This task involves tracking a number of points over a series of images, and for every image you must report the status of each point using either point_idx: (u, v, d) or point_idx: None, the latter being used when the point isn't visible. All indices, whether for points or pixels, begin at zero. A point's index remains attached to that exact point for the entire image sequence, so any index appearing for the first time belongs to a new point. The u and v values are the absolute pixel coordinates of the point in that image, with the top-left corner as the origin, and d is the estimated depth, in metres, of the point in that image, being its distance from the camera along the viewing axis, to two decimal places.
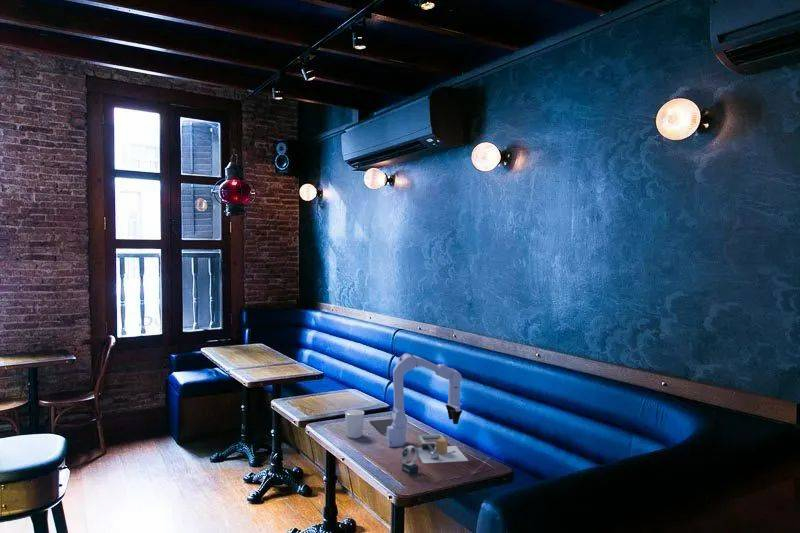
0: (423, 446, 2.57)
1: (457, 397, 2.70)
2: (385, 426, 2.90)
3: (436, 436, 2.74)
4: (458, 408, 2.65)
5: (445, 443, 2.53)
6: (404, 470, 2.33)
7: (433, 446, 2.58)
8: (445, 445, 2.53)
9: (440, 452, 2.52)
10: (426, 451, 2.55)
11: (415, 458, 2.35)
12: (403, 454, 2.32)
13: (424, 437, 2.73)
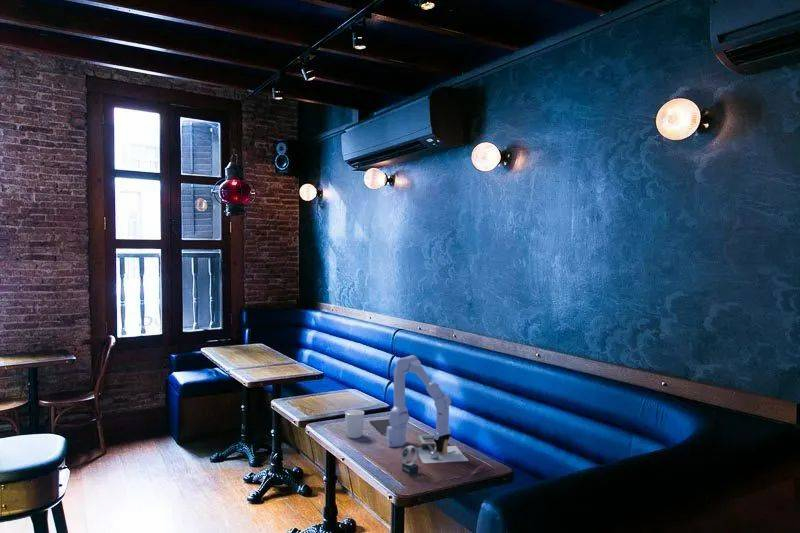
0: (423, 446, 2.57)
1: (442, 425, 2.51)
2: (385, 426, 2.90)
3: None
4: (436, 436, 2.48)
5: (445, 443, 2.53)
6: (404, 470, 2.33)
7: (433, 446, 2.58)
8: (445, 445, 2.53)
9: (440, 452, 2.52)
10: (426, 451, 2.55)
11: (415, 458, 2.35)
12: (403, 454, 2.32)
13: (424, 437, 2.73)
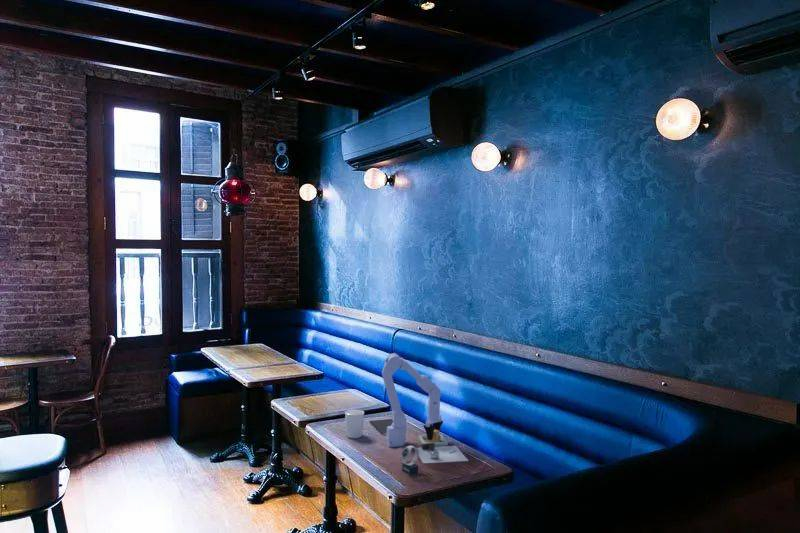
0: (423, 446, 2.57)
1: (433, 413, 2.66)
2: (385, 426, 2.90)
3: None
4: (427, 423, 2.62)
5: (436, 434, 2.67)
6: (404, 470, 2.33)
7: (433, 446, 2.58)
8: (437, 435, 2.68)
9: None
10: (426, 451, 2.55)
11: (415, 458, 2.35)
12: (403, 454, 2.32)
13: (424, 437, 2.73)
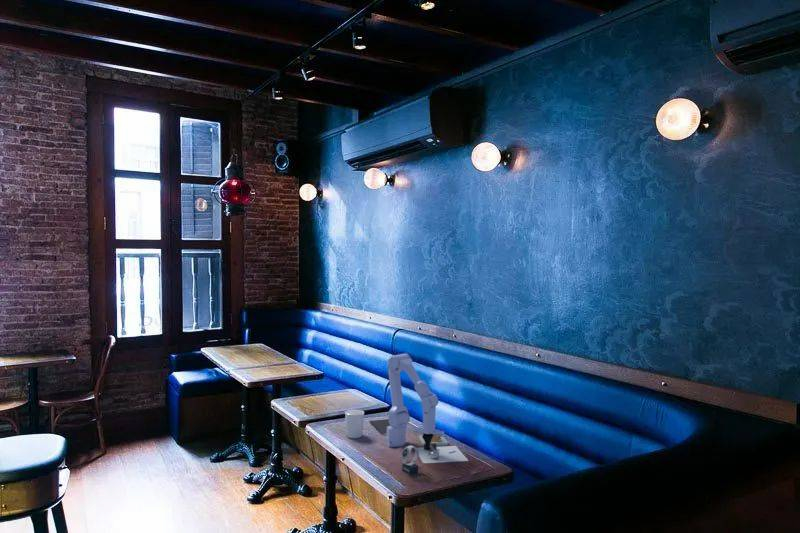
0: (424, 446, 2.57)
1: None
2: (385, 426, 2.91)
3: None
4: None
5: None
6: (404, 470, 2.33)
7: (435, 446, 2.58)
8: None
9: None
10: (426, 451, 2.55)
11: (415, 458, 2.35)
12: (403, 454, 2.32)
13: None
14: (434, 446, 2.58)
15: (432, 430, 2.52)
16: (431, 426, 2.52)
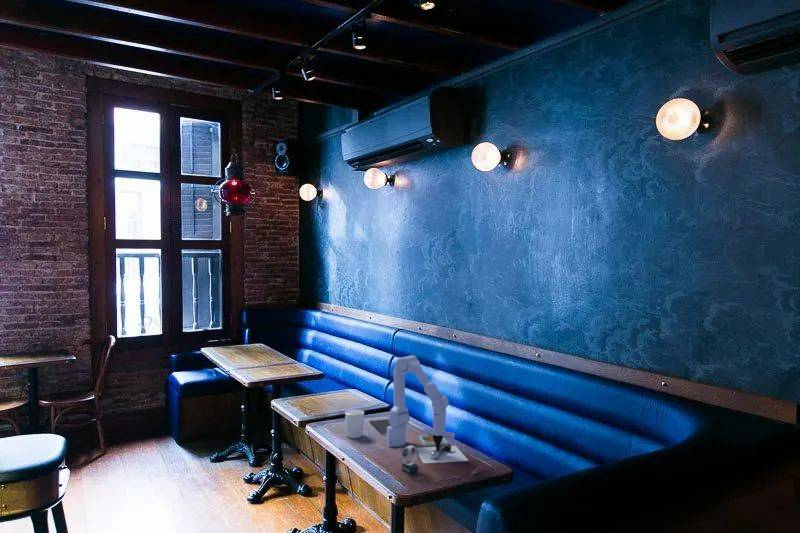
0: (439, 446, 2.58)
1: (433, 423, 2.53)
2: (385, 426, 2.91)
3: None
4: None
5: None
6: (404, 470, 2.33)
7: (448, 448, 2.55)
8: None
9: None
10: (426, 451, 2.55)
11: (415, 458, 2.35)
12: (403, 454, 2.32)
13: (424, 437, 2.73)
14: (448, 448, 2.56)
15: (442, 432, 2.51)
16: (441, 428, 2.50)
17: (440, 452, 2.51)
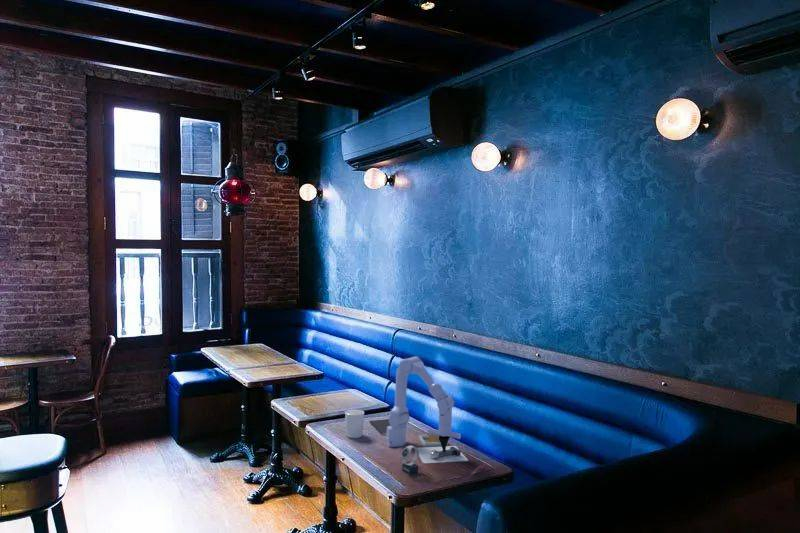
0: (450, 449, 2.55)
1: (439, 424, 2.52)
2: (385, 426, 2.91)
3: None
4: None
5: None
6: (404, 470, 2.33)
7: (456, 453, 2.50)
8: (437, 435, 2.68)
9: None
10: (426, 451, 2.55)
11: (415, 458, 2.35)
12: (403, 454, 2.32)
13: (424, 437, 2.73)
14: (456, 452, 2.51)
15: (448, 432, 2.50)
16: (447, 428, 2.49)
17: (444, 454, 2.49)
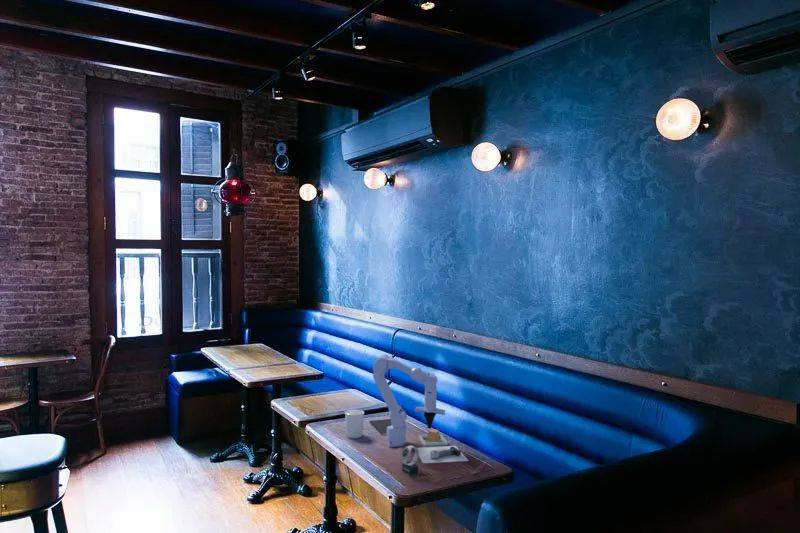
0: (450, 449, 2.55)
1: None
2: (385, 426, 2.91)
3: None
4: None
5: (436, 434, 2.67)
6: (404, 470, 2.33)
7: (456, 453, 2.50)
8: (437, 435, 2.68)
9: None
10: (426, 451, 2.55)
11: (415, 458, 2.35)
12: (403, 454, 2.32)
13: (424, 437, 2.73)
14: (456, 452, 2.51)
15: (433, 409, 2.62)
16: (432, 405, 2.61)
17: (444, 454, 2.49)
